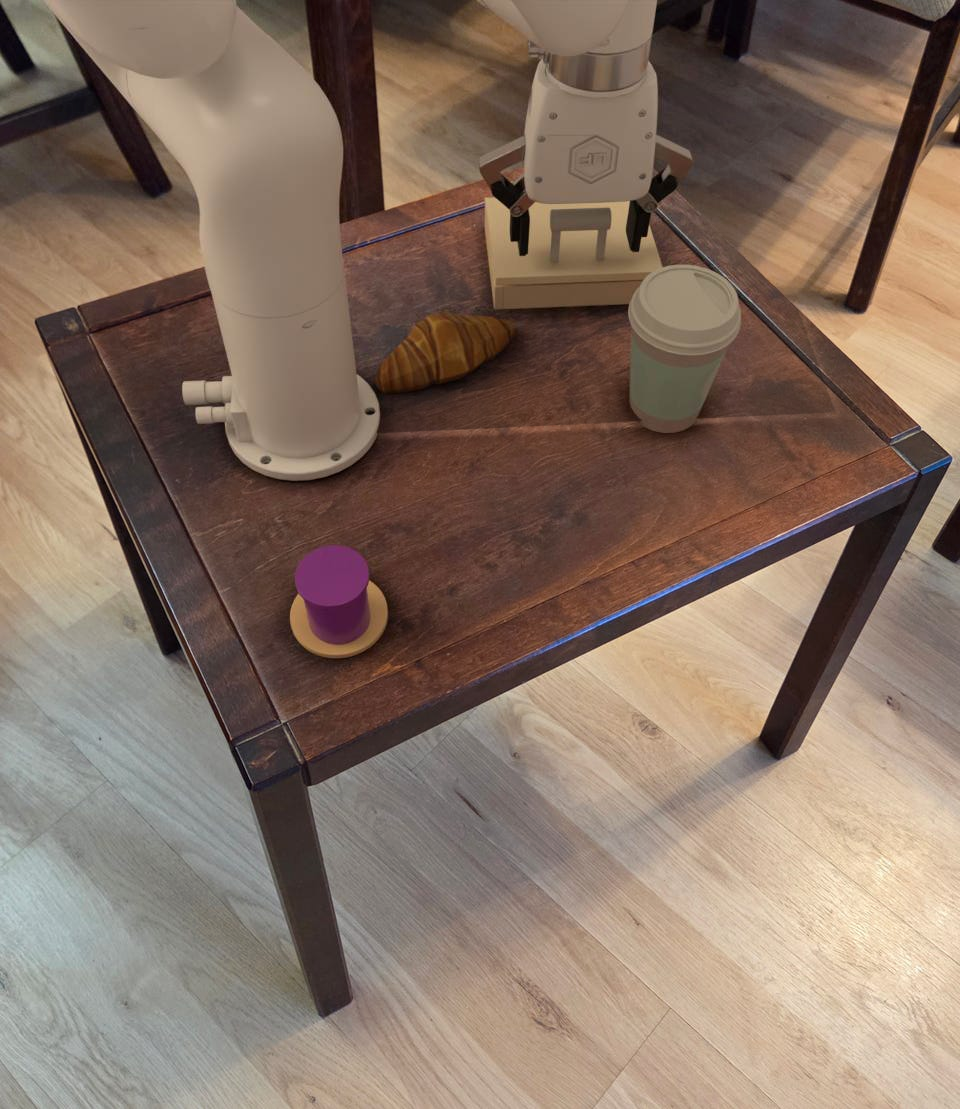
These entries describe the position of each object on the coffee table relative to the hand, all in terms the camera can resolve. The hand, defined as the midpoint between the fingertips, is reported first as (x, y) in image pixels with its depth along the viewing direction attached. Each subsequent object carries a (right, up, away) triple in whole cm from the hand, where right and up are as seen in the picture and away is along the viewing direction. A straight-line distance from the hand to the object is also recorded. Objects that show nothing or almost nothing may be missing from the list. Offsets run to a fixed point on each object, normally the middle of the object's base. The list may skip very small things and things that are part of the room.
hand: (577, 244), depth 91 cm
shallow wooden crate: (0, 0, +7) cm, 7 cm away
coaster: (-19, -31, -15) cm, 39 cm away
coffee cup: (+7, -15, -3) cm, 16 cm away
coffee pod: (-18, -32, -16) cm, 40 cm away
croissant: (-11, -11, 0) cm, 16 cm away
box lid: (0, +1, +4) cm, 4 cm away
